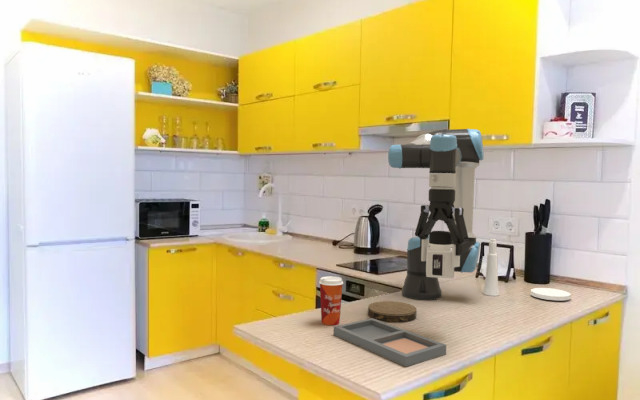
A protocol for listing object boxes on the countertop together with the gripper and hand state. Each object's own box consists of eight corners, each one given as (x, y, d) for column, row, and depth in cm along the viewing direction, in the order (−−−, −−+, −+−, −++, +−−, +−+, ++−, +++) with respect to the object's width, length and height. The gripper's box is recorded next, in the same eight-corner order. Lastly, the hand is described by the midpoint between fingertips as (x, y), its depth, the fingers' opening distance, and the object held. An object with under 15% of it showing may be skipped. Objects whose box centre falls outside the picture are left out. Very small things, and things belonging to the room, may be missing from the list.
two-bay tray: (333, 334, 141) (333, 326, 141) (371, 325, 150) (372, 317, 149) (406, 367, 118) (406, 356, 118) (446, 354, 127) (446, 344, 127)
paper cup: (325, 327, 147) (326, 282, 146) (314, 320, 154) (314, 277, 153) (347, 324, 151) (348, 279, 150) (335, 317, 158) (336, 275, 157)
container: (454, 278, 138) (455, 233, 137) (426, 277, 139) (427, 232, 139) (452, 273, 145) (453, 230, 145) (425, 272, 147) (427, 229, 146)
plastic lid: (578, 303, 182) (578, 296, 182) (542, 303, 181) (542, 296, 181) (557, 294, 196) (557, 287, 196) (523, 294, 195) (524, 287, 195)
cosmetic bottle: (501, 296, 190) (503, 240, 189) (485, 295, 190) (487, 240, 189) (496, 292, 196) (498, 238, 195) (481, 292, 196) (482, 238, 195)
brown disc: (362, 320, 157) (363, 310, 157) (374, 307, 172) (374, 299, 171) (412, 326, 151) (412, 316, 151) (419, 312, 166) (419, 304, 166)
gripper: (403, 187, 148) (402, 258, 149) (467, 189, 130) (464, 271, 131) (420, 187, 153) (418, 256, 154) (484, 189, 134) (481, 268, 135)
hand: (439, 263), depth 142 cm, fingers closed on container, 10 cm apart
